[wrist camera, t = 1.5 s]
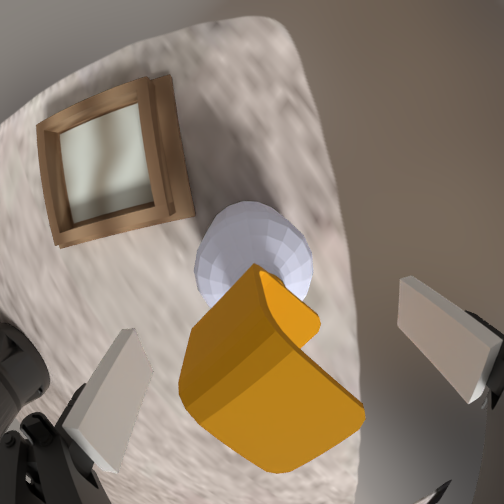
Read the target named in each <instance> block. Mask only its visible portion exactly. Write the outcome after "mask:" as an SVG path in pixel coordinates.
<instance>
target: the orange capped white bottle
mask: <svg viewBox="0 0 504 504" xmlns="http://www.w3.org/2000/svg"><path fill="white" fill-rule="evenodd" d="M194 273H195V278H196V283H197V287H198V290H199V292H200V294H201V295H202V297H203V298H204V300H205V301H206V303H207V304H208V306H209V307H210V308H211V309H210V310H209V311H208V312H207V313H206V314H205V315H204V316H203V317H202V319H201V320H200V321H199V322H198V323H197V324H196V325H195V326H194V327H193V328H192V329H191V333H190V337H189V341H188V345H187V349H186V353H185V357H184V361H183V365H182V369H181V374H180V378H179V382H178V385H179V396H180V398H181V400H182V403H183V405H184V407H185V409H186V410H187V411H188V412H189V414H190V415H191V416H192V417H193V418H194V419H195V421H196V422H197V423H198V424H199V425H200V426H201V427H203V428H204V429H205V430H207V431H208V432H209V433H210V434H212V435H213V436H214V437H216V438H217V439H218V440H220V441H221V442H223V443H224V444H225V445H227V446H228V447H229V448H231V449H232V450H234V451H235V452H237V453H238V454H240V455H241V456H243V457H244V458H246V459H247V460H249V461H250V462H252V463H253V464H255V465H256V466H258V467H260V468H261V469H263V470H265V471H266V472H271V473H276V474H279V473H286V472H291V471H293V470H294V469H296V468H298V467H300V466H302V465H304V464H306V463H307V462H309V461H311V460H313V459H314V458H316V457H318V456H319V455H321V454H323V453H324V452H326V451H328V450H329V449H331V448H332V447H334V446H336V445H337V444H339V443H340V442H342V441H343V440H345V439H346V438H348V437H349V436H351V435H352V434H353V433H355V432H356V431H358V430H359V429H360V427H361V425H362V424H363V422H364V421H365V411H364V407H363V403H361V402H360V401H359V400H358V399H357V398H355V397H354V396H353V395H352V394H351V393H350V392H348V391H347V390H346V389H345V388H344V387H343V386H341V385H340V384H339V383H338V382H337V381H336V380H334V379H333V378H332V377H331V376H330V375H329V374H328V373H326V372H325V371H324V370H323V369H322V368H321V367H320V366H319V365H317V364H316V363H315V362H314V361H313V360H312V359H311V358H310V357H308V356H307V355H306V354H305V353H304V352H303V351H302V350H301V349H300V348H301V347H302V346H304V345H305V344H306V343H307V342H308V341H309V340H310V339H311V338H312V337H313V336H314V335H316V334H317V333H318V331H319V328H320V325H321V323H320V319H319V316H318V314H317V313H316V312H314V311H313V310H312V309H311V308H310V307H308V306H307V305H306V304H305V303H304V302H303V299H304V298H305V296H306V295H307V292H308V289H309V286H310V282H311V279H312V275H313V261H312V252H311V250H310V248H309V246H308V244H307V241H306V239H305V237H304V235H303V234H302V233H301V232H300V231H299V230H298V229H297V228H296V227H295V226H294V225H292V224H291V223H290V222H289V221H288V220H287V219H286V218H284V217H283V216H282V215H281V214H279V213H278V212H277V211H276V210H274V209H273V208H272V207H270V206H267V205H265V204H262V203H260V202H252V201H242V202H239V203H236V204H233V205H230V206H227V207H226V208H225V209H224V210H222V211H221V212H220V213H219V214H217V215H216V217H215V218H214V220H213V222H212V223H211V225H210V227H209V228H208V230H207V232H206V234H205V236H204V238H203V240H202V242H201V244H200V246H199V248H198V250H197V254H196V260H195V267H194Z"/></svg>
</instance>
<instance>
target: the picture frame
mask: <svg viewBox="0 0 504 504" xmlns="http://www.w3.org/2000/svg"><path fill="white" fill-rule="evenodd" d="M36 131H37V146H38V157H39V166H40V174H41V181H42V188H43V194H44V199H45V205H46V210H47V214H48V219H49V224H50V228H51V232H52V236H53V240H54V244H55V246H57V245H59V247H60V249H62V248H65V247H69V246H73V245H76V244H80V243H84V242H88V241H91V240H95V239H99V238H103V237H107V236H111V235H115V234H119V233H123V232H127V231H131V230H136V229H140V228H144V227H148V226H153V225H157V224H162V223H166V222H171V221H175V220H180V219H185V218H190V217H194V216H195V210H194V205H193V200H192V195H191V190H190V185H189V179H188V174H187V169H186V163H185V158H184V152H183V146H182V140H181V135H180V128H179V122H178V116H177V109H176V103H175V96H174V89H173V82H172V77H171V75H166V76H163V77H159V78H156V79H152V80H150V79H149V78H148V77H147V76H146V77H142V78H139V79H136V80H133V81H130V82H128V83H125V84H122V85H119V86H117V87H114V88H111V89H109V90H106V91H104V92H101V93H99V94H97V95H94V96H92V97H90V98H87V99H85V100H83V101H81V102H79V103H76V104H74V105H72V106H70V107H68V108H66V109H64V110H62V111H60V112H58V113H57V114H55V115H53V116H51V117H49V118H47V119H45V120H44V121H42V122H40V123H38V124H37V125H36Z"/></svg>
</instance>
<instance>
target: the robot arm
mask: <svg viewBox="0 0 504 504" xmlns="http://www.w3.org/2000/svg"><path fill="white" fill-rule="evenodd" d="M397 326H398V327H399V328H400V329H401V330H402V331H403V332H404V333H405V335H406V336H407V337H408V338H409V339H410V340H411V341H412V342H413V343H414V344H415V345H416V346H417V347H418V348H419V349H420V350H421V352H422V353H423V354H424V355H425V356H426V357H427V358H428V359H429V360H430V361H431V362H432V363H433V365H434V366H435V367H436V368H437V369H438V370H439V371H440V372H441V374H442V375H443V376H444V377H445V378H446V379H447V380H448V381H449V383H450V384H451V385H452V386H453V387H454V388H455V389H456V391H457V392H458V393H459V394H460V395H461V396H462V398H463V399H464V400H465V401H466V402H467V403H468V404H469V403H471V402H472V401H474V400H475V399H477V398H478V397H480V396H481V395H482V392H483V390H484V388H485V386H486V385H487V386H488V387H489V388H490V390H489V392H488V394H487V396H486V398H485V401H484V402H483V404H482V408H481V409H483V408H484V407H485V405H486V403H487V420H486V433H485V442H484V449H483V456H482V463H481V468H480V473H479V478H478V482H477V487H476V491H475V495H474V498H473V502H472V504H504V335H503V334H502V333H501V332H500V331H498V330H497V329H495V328H494V327H493V326H491V325H489V323H487V322H486V321H483V319H482V318H480V317H479V316H478V315H476V314H474V313H472V312H469V311H463V310H462V309H460V308H459V307H457V306H456V305H455V304H453V303H452V302H450V301H449V300H447V299H446V298H445V297H443V296H442V295H440V294H439V293H437V292H436V291H434V290H432V289H431V288H430V287H428V286H427V285H425V284H424V283H422V282H421V281H419V280H418V279H416V278H415V277H413V276H409V277H405V278H402V279H400V291H399V308H398V321H397ZM153 372H154V371H153V369H152V367H151V365H150V362H149V360H148V358H147V356H146V353H145V351H144V349H143V346H142V344H141V342H140V339H139V337H138V334H137V332H136V329H135V328H132V329H122V330H121V332H120V333H119V335H118V336H117V338H116V339H115V341H114V342H113V344H112V345H111V347H110V348H109V350H108V351H107V353H106V354H105V356H104V357H103V359H102V360H101V362H100V363H99V365H98V367H97V368H96V370H95V371H94V373H93V374H92V376H91V378H90V379H89V381H88V382H87V383H84V384H83V385H82V386H81V387H80V388H79V389H77V390H76V392H75V393H74V395H73V397H72V398H71V399H72V400H70V401H69V403H68V407H67V406H66V408H65V410H64V411H63V413H62V415H61V416H60V418H59V420H58V421H57V423H56V425H55V427H54V426H53V425H52V424H51V422H50V421H49V420H48V419H47V417H46V416H45V415H44V414H43V413H40V412H35V413H31V414H30V415H28V416H26V417H25V418H24V419H23V421H22V423H21V424H20V430H21V431H22V432H23V434H24V435H25V436H26V437H27V438H28V439H24V438H23V437H22V436H21V435H20V433H19V432H17V431H13V430H12V431H8V432H7V433H5V432H6V431H7V429H8V428H9V426H10V424H11V423H12V421H13V420H14V418H15V417H16V415H17V414H18V412H19V411H20V410H21V408H22V407H23V406H25V405H27V404H28V403H30V402H32V401H34V400H35V399H37V398H39V397H41V396H42V395H43V394H44V393H45V391H46V390H47V389H48V387H49V385H50V377H49V373H48V370H47V367H46V365H45V363H44V361H43V359H42V358H41V356H40V354H39V353H38V351H37V350H36V349H35V347H34V346H33V345H32V344H31V342H30V341H29V340H28V339H27V338H26V337H25V336H24V335H23V334H22V333H21V332H20V331H18V330H17V329H16V328H14V327H13V326H11V325H9V324H6V323H0V504H111V502H110V500H109V498H108V496H107V495H106V493H105V491H104V489H103V487H102V485H101V483H100V481H99V478H98V476H97V474H96V473H95V471H94V470H93V469H92V467H93V464H94V463H95V464H96V465H97V466H98V467H99V468H100V469H101V470H102V471H107V472H112V473H119V470H120V467H121V463H122V460H123V457H124V454H125V451H126V448H127V445H128V442H129V439H130V436H131V433H132V430H133V427H134V424H135V421H136V418H137V416H138V413H139V410H140V407H141V404H142V402H143V399H144V396H145V393H146V391H147V388H148V385H149V383H150V380H151V377H152V375H153ZM26 475H27V476H28V477H29V478H31V483H28V482H27V481H26Z"/></svg>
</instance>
